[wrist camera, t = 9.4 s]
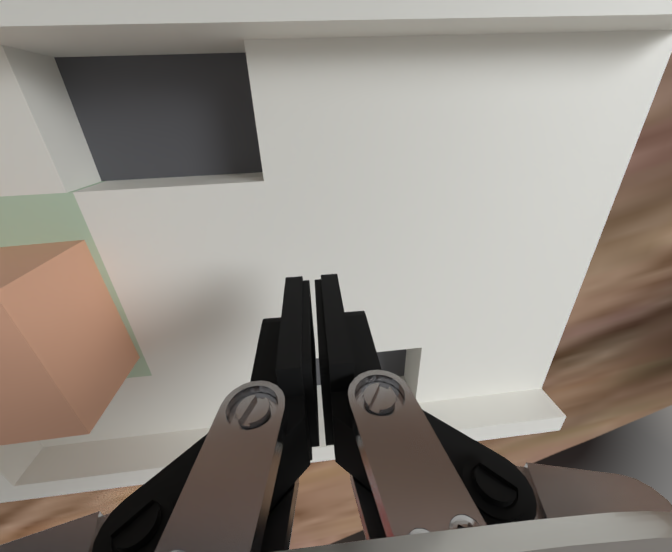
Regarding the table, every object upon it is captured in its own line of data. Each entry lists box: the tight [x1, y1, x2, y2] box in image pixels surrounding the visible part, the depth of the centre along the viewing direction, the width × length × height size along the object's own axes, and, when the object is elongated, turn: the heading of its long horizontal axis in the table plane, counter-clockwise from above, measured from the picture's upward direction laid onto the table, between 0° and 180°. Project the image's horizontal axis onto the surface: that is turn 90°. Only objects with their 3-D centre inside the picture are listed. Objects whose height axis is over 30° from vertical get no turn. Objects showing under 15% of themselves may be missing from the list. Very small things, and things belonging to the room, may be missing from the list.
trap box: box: [0, 0, 672, 503], centre depth 14 cm, size 20×30×4 cm, turn 92°
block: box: [0, 240, 140, 445], centre depth 11 cm, size 6×6×4 cm
